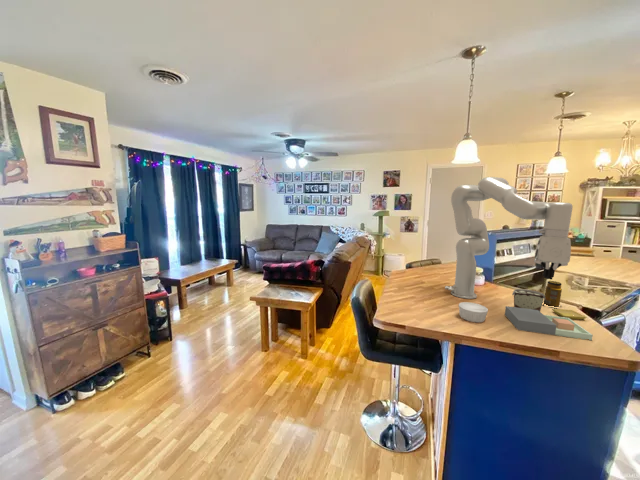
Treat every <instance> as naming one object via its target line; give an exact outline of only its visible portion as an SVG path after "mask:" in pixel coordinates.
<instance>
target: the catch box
mask: <svg viewBox="0 0 640 480" xmlns="http://www.w3.org/2000/svg"><path fill="white" fill-rule="evenodd" d="M544 315H545V316H546V317H547V318H548V319H549V320H551V321H552V318H557V319H565V320H568V321H570V322H571V323H573V324H574V325H575V326H574V331H572V330H565V329H558V328H557V327H556V332H555V335H554V336H557V337H564V338H565V337H566V338H571V339H578V338H581V339H580V340H585V339H589V340H588V341H593V333H591V332H590V331H588V330H586V329H585V328H584V327H582V326H581V325H580V324H578V323H576V322H575V320H573V319H570V318H565V317H561V316H557V315H548V314H544Z"/></svg>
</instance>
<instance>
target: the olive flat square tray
mask: <svg viewBox="0 0 640 480" xmlns="http://www.w3.org/2000/svg"><path fill="white" fill-rule="evenodd" d="M551 310H552V312H553V313H555V314H556V315H558V316H559V317H565V318H570V319H571V320H576V319H583V320H585V319H587V316H585V315H583V314H581V313H579V312H577V311H575V310H573V309H565V308H564V309H562V308H558V309H554V308H551ZM573 315H574V316H573Z"/></svg>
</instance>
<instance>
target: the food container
mask: <svg viewBox="0 0 640 480" xmlns="http://www.w3.org/2000/svg"><path fill="white" fill-rule="evenodd" d="M511 295H512V296H513V307H517V308H525V309H533V310H538V311H540V312H541V310H542V306H543V305H542V303H543V302H544V299H545V293H542V292H540V291H536V290H531V289H525V288H516V289H514V290H513V291H512V293H511Z"/></svg>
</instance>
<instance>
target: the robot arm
mask: <svg viewBox="0 0 640 480" xmlns="http://www.w3.org/2000/svg"><path fill="white" fill-rule="evenodd" d="M450 198H451V199H450V202H451V205H452V209H453V210H452V211H453V215H454V222H455V229H456V232H457V234H458V235H460V236H463V237H464V238H461V239H460V240H458V241H457V242H456V245H455V252H456V263H455V264H456V265H455V276H454V277H455V278H454V284H453V285H451V286H450V285H445V286H444V290H448V291H450V294H451V295H452V296H454V297H457V298H460V299H466V300H469V299H470V300H471V299H472V300H473V299H477V297H478V294H476V293H475V285H476V276H477V275H476V273H477V261H476V257H475V256H482V255H486V254H487V253H488V252H489V250H490V241H489V235H488V227H487V225H486V223H485V221H484V220H482V219H480V218H477V217H476V218H475V217H473V213H472V209H471V208H472V207H471V206H470V204H469V203H468V202H482V201H486V200H489V199H493V200H494V201H495V202H498V203H499V204H501V206H502V207H503V209H504V210H506V212H508V213H511V214H512V215H514V216H516V217H517V218H520V219H523V220H528V221H529V220H533V221H534V220H537V221H538V220H539V221H540V220H541V221H542V220H544V223H543V224H544V225H543V228H542V229H539V231H538V234H541V235H540V236H539V238H538V241H537V244H536V248H535V252H534V260H533V262H534V263H535V264H538V265H540V266H541V267H542V268H543V273H542V276H543V278H545V280H550V281H553V278H554V276H555V273H556V270H557V269H559V268H560V267H566V266H568V264H569V262H570V261H571V253H572V246H571V245H572V242H571V238H569V232H570V226H571V225H570V224H571V218H572V215H573V214H572V213H573V206H574V205H573V204H572V203H570V202H555V201H553V202H546V201H533V200H532V201H531V200H528V199H525V198H523V197H521V196H519V195H518V190H517V188H516V187H514V186H512V185H510V184H509V182H508V180H507V179H506V178H503V177H495V176H487V177H483V178H481V180H479V182H478V184H461V185H459V186H457V187H456V188H454V190H453V192H452V193H451V197H450Z"/></svg>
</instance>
